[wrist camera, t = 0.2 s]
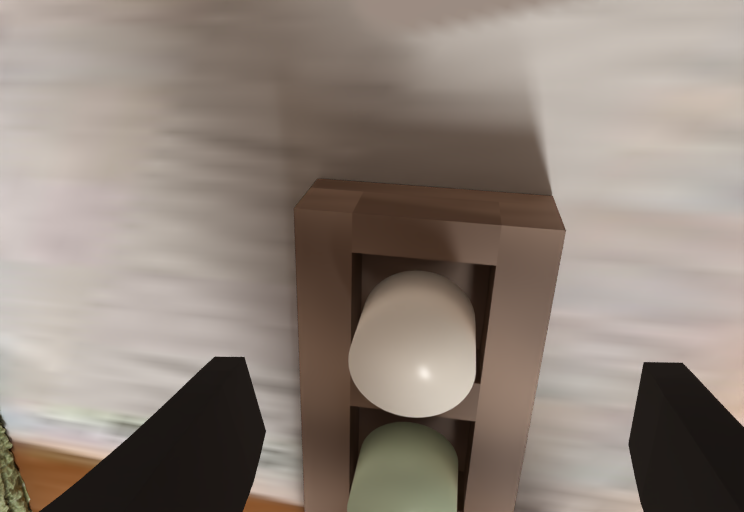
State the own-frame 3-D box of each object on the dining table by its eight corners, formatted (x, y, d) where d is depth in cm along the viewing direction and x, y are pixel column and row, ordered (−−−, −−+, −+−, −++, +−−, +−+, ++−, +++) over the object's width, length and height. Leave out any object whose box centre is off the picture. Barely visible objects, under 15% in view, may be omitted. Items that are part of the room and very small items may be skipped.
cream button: (469, 372, 19) (469, 424, 17) (362, 360, 19) (347, 409, 17) (481, 276, 17) (482, 319, 15) (363, 265, 18) (348, 305, 16)
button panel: (488, 574, 27) (489, 639, 25) (323, 548, 28) (308, 607, 26) (552, 196, 19) (565, 230, 16) (317, 178, 20) (293, 208, 17)
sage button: (453, 502, 22) (451, 562, 19) (359, 489, 22) (346, 546, 20) (462, 428, 20) (461, 484, 18) (360, 415, 20) (347, 468, 18)
